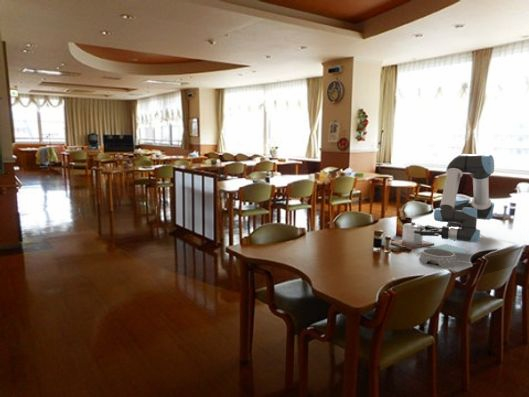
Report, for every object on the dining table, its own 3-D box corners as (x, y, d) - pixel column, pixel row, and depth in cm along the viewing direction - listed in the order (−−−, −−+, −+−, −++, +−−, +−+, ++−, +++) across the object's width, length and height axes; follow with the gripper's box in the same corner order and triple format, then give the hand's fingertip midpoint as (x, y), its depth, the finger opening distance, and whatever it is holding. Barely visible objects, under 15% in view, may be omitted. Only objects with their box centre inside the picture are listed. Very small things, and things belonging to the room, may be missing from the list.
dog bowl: (424, 255, 214) (425, 245, 214) (460, 261, 203) (461, 251, 202) (414, 262, 201) (415, 252, 201) (452, 269, 190) (452, 259, 189)
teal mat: (445, 244, 234) (446, 244, 234) (470, 251, 220) (470, 250, 220) (427, 248, 227) (427, 247, 227) (451, 255, 213) (451, 254, 213)
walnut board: (413, 240, 246) (413, 237, 246) (434, 245, 232) (434, 243, 232) (390, 243, 237) (390, 241, 237) (410, 250, 223) (410, 247, 223)
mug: (410, 239, 248) (411, 221, 246) (392, 235, 259) (393, 217, 258) (419, 237, 253) (420, 219, 251) (402, 233, 265) (402, 216, 263)
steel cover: (405, 239, 242) (406, 219, 240) (423, 241, 236) (424, 221, 234) (400, 243, 233) (401, 222, 231) (419, 245, 227) (421, 224, 225)
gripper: (445, 244, 212) (406, 238, 224) (452, 235, 233) (415, 230, 244) (446, 230, 211) (406, 226, 223) (452, 222, 232) (416, 219, 243)
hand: (411, 228), depth 234 cm, fingers open, 13 cm apart
